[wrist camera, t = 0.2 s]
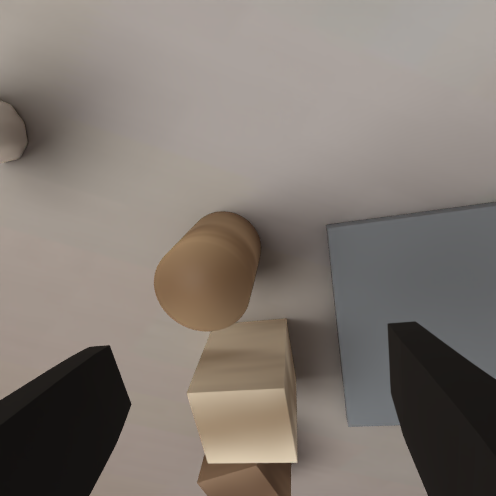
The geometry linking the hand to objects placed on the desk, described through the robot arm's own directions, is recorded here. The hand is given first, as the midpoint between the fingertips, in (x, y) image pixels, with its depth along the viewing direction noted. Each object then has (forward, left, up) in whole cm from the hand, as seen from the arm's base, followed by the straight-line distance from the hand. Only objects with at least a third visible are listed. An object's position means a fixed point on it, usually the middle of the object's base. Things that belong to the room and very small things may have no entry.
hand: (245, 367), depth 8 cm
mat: (-6, -9, -10) cm, 15 cm away
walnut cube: (-14, +4, -10) cm, 18 cm away
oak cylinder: (0, +3, -10) cm, 10 cm away
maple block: (-7, +2, -10) cm, 12 cm away
